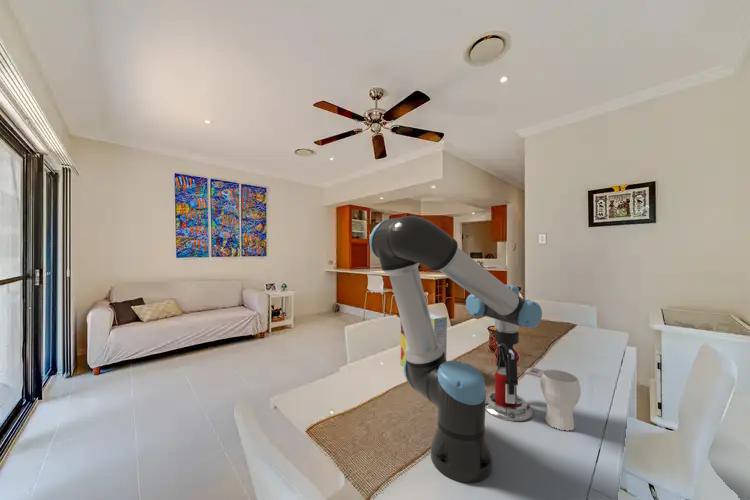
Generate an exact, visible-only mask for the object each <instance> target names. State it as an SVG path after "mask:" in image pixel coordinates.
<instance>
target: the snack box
mask: <svg viewBox="0 0 750 500" xmlns="http://www.w3.org/2000/svg"><path fill="white" fill-rule="evenodd" d="M429 314H430V318H431V322H432V326H433V330H434V334H435V338H436V342H437V343H438V344H440V345H442V347H443V349H444V353H445V357H446V358H447V345H448V344H447V339H448V338H447V333H448V332H447V331H448V329H447V328H448V327H447V326H448V316H444V315H441V314H435V313H431V312H429ZM407 350H408V345H407V341H406V337H405V334H404V330H403V326H402V322H401V321H400V365H401V366H403V367H404V363H405V362H406V357H405V354H406V352H407Z"/></svg>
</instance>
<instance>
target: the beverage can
mask: <svg viewBox="0 0 750 500" xmlns="http://www.w3.org/2000/svg"><path fill="white" fill-rule="evenodd" d="M505 382H507V378H506V368H505V367H501V368H498V367H497V368H496V371H495V372H494V391H495V401H496V403H497V404H498V405H501V406H504V407H510V408H515V407H516V406H517V395H518V394H517V392H518V391H517V386H518V385H515V404H511V403H506V384H505Z"/></svg>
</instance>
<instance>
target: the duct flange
mask: <svg viewBox="0 0 750 500" xmlns="http://www.w3.org/2000/svg"><path fill="white" fill-rule="evenodd" d="M533 412H534V411H533V409H532V407H531V406H530V404H528V403H527V402H526V400H525V399H524V398H523V397H522V396H519V395H518V394H517V406H516V407H515V408H510V407H504V406H501V405H498V404H497V403H496V401H495V390H493V391H489V392H488V393H486V397H485V413H488V414H490V415H491V416H493V417H495V418H497V419H500V420H503V421H507V422H508V421H509V422H515V423H517V422H518V423H520V422H526V421H529V420H531V418H532V417H533Z"/></svg>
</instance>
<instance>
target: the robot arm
mask: <svg viewBox="0 0 750 500" xmlns="http://www.w3.org/2000/svg"><path fill="white" fill-rule="evenodd" d="M370 232H371V233H370V236H369V243H368V244H369V248H370V251H371V252H372V254H373V255H374V256H375V257H377V258H378V259H379V262H380V267H381V270H382V272H383V273H386V274H387V275H388V276H389V280H390V284H391V288H392V292H393V295H394V300H395V303H396V306H397V309H398V310H397V311H398V314H399V319H400V323H401V322H402V326H403V330H404V334H405V337H406V341H407V345H408V350H407V352H406V354H405V357H406V362H405V363H404V366H403V374H404V377H405V380H406V381H407V382H408V384H409V385H410V386H411V388H412V389H414V390H415V391H416V392H417V393H419V394H421V395H422V396H423V397H424V398H426V399H427V400H428V401H429V402H430V403H431V404H433V405H434V406H435V407H436V408H437V428H436V430H435V432H434V435H433V439H432V441H431V445H430V459H431V462H432V464H433V465H434V467H435V468H436V469H437V470H438V471H439V472H440V473H441V474H443V475H445V476H446V477H447V478H450V479H452V480H455V481H458V482H461V483H462V482H463V483H477V482H481V480H482V481H484V480H485V478H486V479H487V478H488V477H489V476H490V475H491V473H492V470H493V457H492V452H491V450H490V447H489V443H488V440H487V437H486V432H485V431H486V427H485V424H486V423H485V422H486V411H485V397H486V396H487V391H486V390H487V389H486V384H485V379H484V376H483V374H482V373H481V371H480V370H478V369H477V368H476V367H475V366H473V365H470V364H469V363H466V362H464V363H463V362H461V361H457V360H447V356H446V357H445V353H444V349H443V347H442V345H440V344H438V343H437V342H436V338H435V334H434V330H433V326H432V322H431V318H430V314H429V313H430V311H429V307H428V303H427V298H426V294H425V291H424V286H423V283H422V278H421V275H420V272H419V266H420V265H423V266H424V267H427V268H428V269H429V270H431V272H440V273H442V274H443V275H445V276H446V277H447V278H449V280H451V281H452V282H454V283H455V284H457V285H458V286H460V287H461V288H463V289H464V290H466V291H467V292H468V293H470V294H469V295H468V296H467V298H466V300H465V307H466V310H467V312H468V314H469V315H471V316H473V317H475V318H478V317H479V318H482V317H486V318H490V319H494V328H495V329H494V340H495V341H496V342H497V350H496V351H497V353H496V365H495V366H496V367H497V369H498V368H501V367H505V368H506V378H507V382H505V384H506V403H511V404H515V385H517V386H518V385H519V382H518V379H519V378H518V361H517V360H518V359H517V358H518V354H517V352H515V348H514V345H517V344H519V342H520V333H519V329H520V327H521V328H528V329H533V328H536V327H537V326H538V325H539V324H540V323H541V320H542V318H543V310H542V308H541V306H540V304H539V303H538V302H536V301H532V300H530V299H524V298H522V297H521V296H520V289H519V287H518V286H516V285H512V284H504V282H502V281H501V280H500V279H498V278H497V277H496V276H494V275H493V274H492V273H491V272H489V270H487V269H486V268H484V267H483V265H481V264H480V263H478V262H477V261H476V260H474V259H473V258H472V257H471V256H470V255H468V254H467V253H466V252H465V251H464V250H462V249H461V248H459V243H458V241H457V240H456V239H454V238H453V237H452V236H451V235H450V234H449V233H447V232H446V231H445V230H443V229H442V228H440V227H439V226H438V225H436V224H434V223H433V222H432V221H429V220H427V219H425V218H424V217H420V216H418V215H404V216H401V217H396V218H389V219H388V218H387V219H386V220H383V221H381V222H379V223H378V224H376V225H375V226H374V228H372V231H370Z"/></svg>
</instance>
